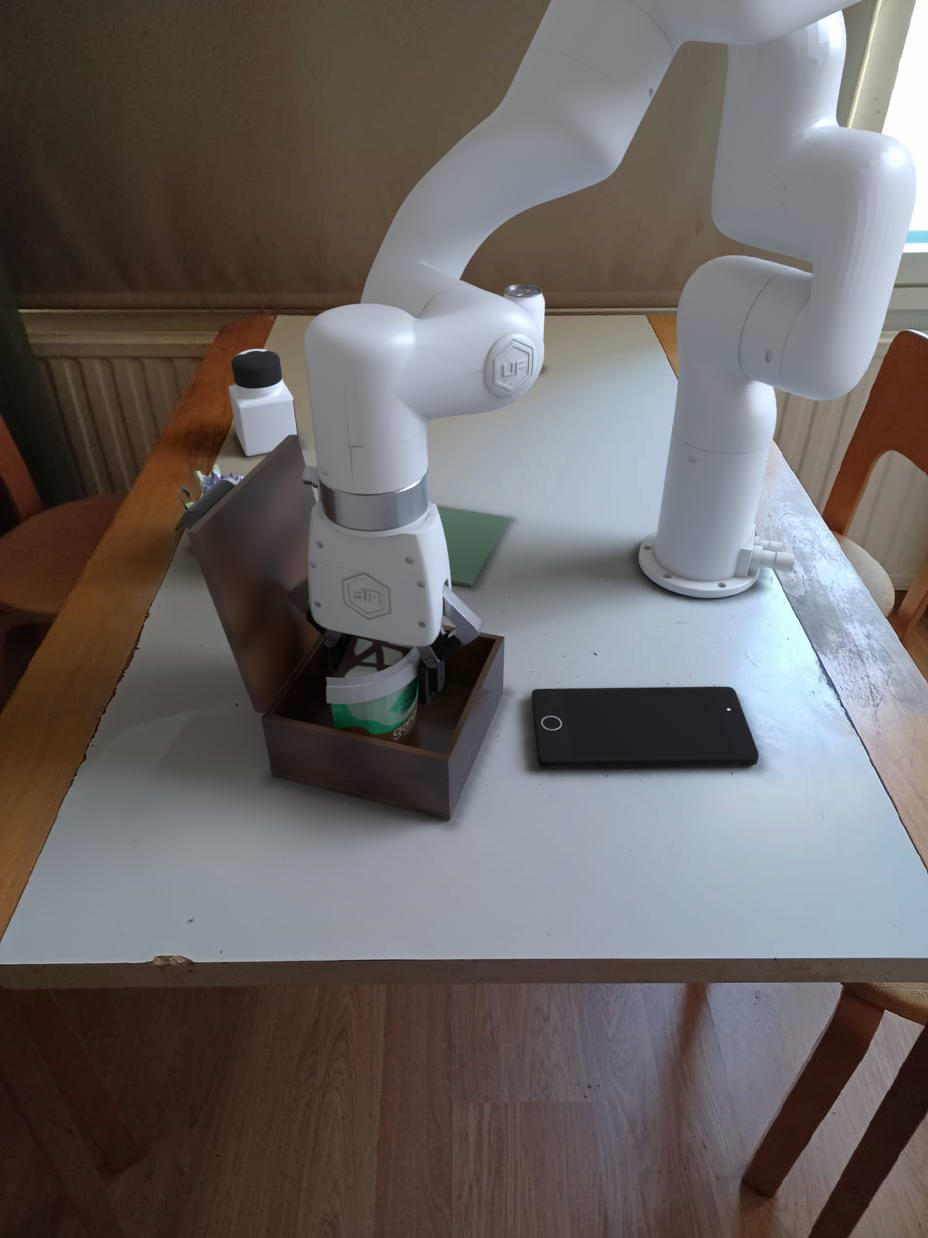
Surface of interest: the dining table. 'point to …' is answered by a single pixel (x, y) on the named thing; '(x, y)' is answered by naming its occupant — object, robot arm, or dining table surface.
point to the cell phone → (641, 727)
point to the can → (528, 301)
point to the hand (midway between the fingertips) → (389, 683)
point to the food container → (376, 690)
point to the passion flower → (205, 486)
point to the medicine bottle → (261, 402)
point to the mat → (468, 541)
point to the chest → (383, 769)
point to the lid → (258, 566)
